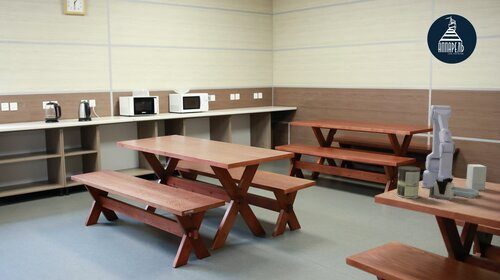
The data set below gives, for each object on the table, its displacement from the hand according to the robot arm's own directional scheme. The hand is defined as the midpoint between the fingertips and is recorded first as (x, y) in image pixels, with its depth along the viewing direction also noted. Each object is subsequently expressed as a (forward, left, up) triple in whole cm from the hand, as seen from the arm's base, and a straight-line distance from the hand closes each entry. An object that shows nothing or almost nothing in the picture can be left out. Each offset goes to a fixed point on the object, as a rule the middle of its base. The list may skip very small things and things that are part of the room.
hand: (443, 193), depth 244 cm
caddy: (0, 0, -2) cm, 2 cm away
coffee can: (-14, -11, -2) cm, 18 cm away
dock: (0, 0, -2) cm, 2 cm away
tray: (+5, +12, -2) cm, 13 cm away
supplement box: (+7, +31, -2) cm, 32 cm away
